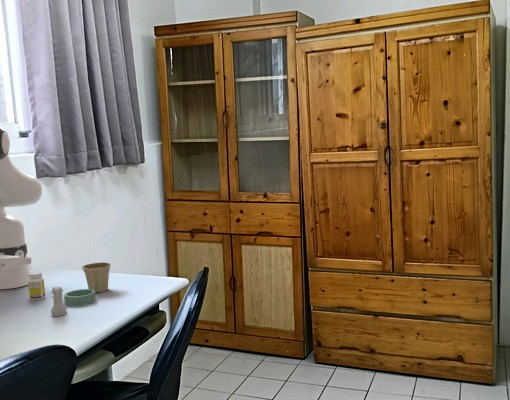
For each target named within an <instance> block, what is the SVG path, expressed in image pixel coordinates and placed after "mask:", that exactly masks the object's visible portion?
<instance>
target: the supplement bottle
mask: <svg viewBox="0 0 510 400" xmlns="http://www.w3.org/2000/svg"><path fill="white" fill-rule="evenodd" d="M29 278H30V279H29V280H28V284H29V285H28V293H29V299H30V300H32V301H38V300H42V299H45V298H46V290H45V280H44V278H43V272H42V271H32V272H31V273H29Z"/></svg>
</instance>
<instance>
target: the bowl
mask: <svg viewBox="0 0 510 400" xmlns="http://www.w3.org/2000/svg"><path fill="white" fill-rule="evenodd" d="M96 295H97V294H96V293H95V291H94V290H91V289H88V288H81V289H74V290H70V291H67V292H65V293H64V294H63V304H64V305H65V306H69V307H80V306H87V305H90V304H92V303H94V302H96V301H97V299H96V297H97V296H96Z"/></svg>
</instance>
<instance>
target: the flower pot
mask: <svg viewBox="0 0 510 400" xmlns="http://www.w3.org/2000/svg"><path fill="white" fill-rule="evenodd" d="M111 266H112V263H110V262H102V261H101V262H93V263H92V262H91V263H87V264H84V265H82V266H81V269H82V270H83V272H84V276H85V280H86V283H87V289H91V290H94V291H95V294H96V293H103V292H107V291H108V289H109V277H110V276H109V275H110V270H111Z"/></svg>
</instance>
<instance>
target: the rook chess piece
mask: <svg viewBox="0 0 510 400" xmlns="http://www.w3.org/2000/svg"><path fill="white" fill-rule="evenodd" d="M63 291H64V289H63V287H62V286H56V287H55V286H54V287H52V289H51V293H52V299H53V304H52V306H51V307H52V308H51V310H50V311H51V313H50V314H51V316H52V317H63V316H65V315H67V313H68V311H67V307H66V305H65V303H64V299H63V297H64V294H63Z"/></svg>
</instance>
